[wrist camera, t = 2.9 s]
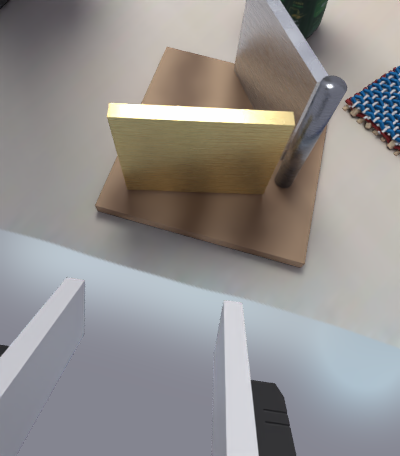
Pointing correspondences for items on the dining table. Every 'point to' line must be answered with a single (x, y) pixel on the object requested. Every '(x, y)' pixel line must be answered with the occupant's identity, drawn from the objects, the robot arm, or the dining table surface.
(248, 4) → the steel leaf and pin
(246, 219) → the walnut board
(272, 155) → the panel
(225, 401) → the robot arm
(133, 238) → the dining table surface
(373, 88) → the woven mat
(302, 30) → the coffee jar
